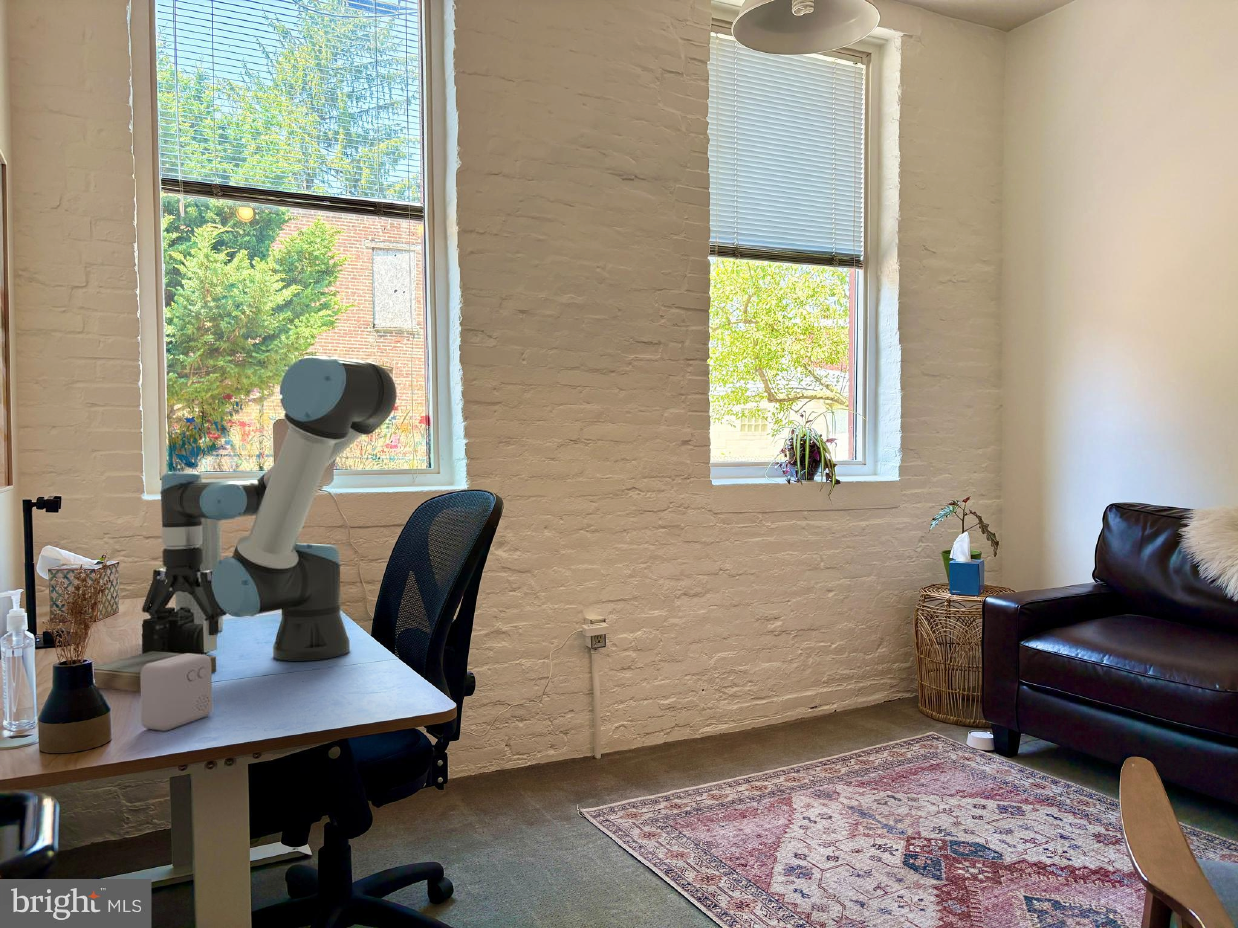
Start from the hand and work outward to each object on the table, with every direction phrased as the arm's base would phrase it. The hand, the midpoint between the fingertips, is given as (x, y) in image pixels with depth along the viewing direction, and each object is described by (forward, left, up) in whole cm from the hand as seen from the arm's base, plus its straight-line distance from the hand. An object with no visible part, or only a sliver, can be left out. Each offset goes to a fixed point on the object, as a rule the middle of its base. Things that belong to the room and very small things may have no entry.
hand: (184, 648), depth 187 cm
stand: (-8, +16, -2) cm, 18 cm away
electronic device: (-36, +36, -2) cm, 51 cm away
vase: (+17, -21, -2) cm, 27 cm away
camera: (0, 0, -2) cm, 2 cm away
